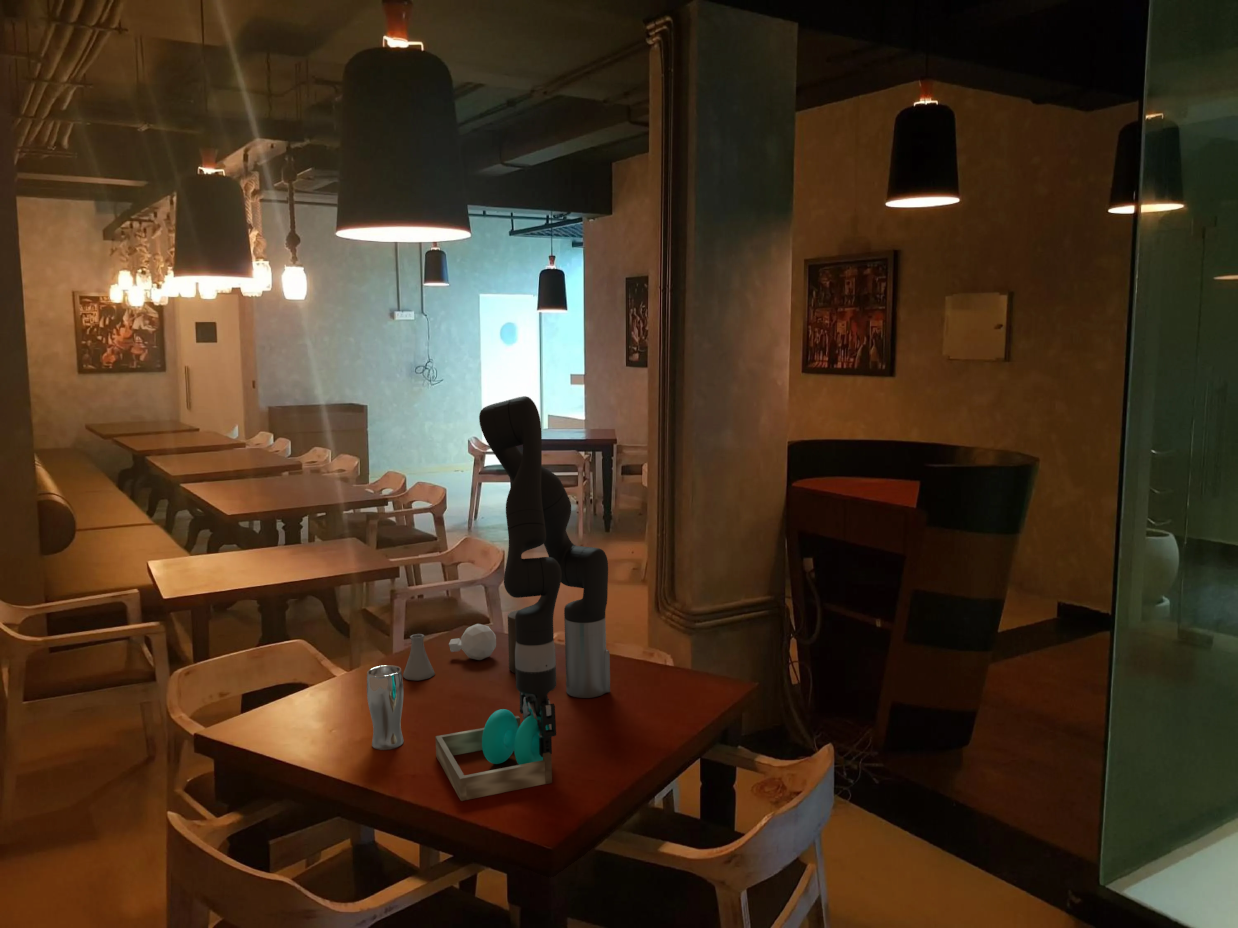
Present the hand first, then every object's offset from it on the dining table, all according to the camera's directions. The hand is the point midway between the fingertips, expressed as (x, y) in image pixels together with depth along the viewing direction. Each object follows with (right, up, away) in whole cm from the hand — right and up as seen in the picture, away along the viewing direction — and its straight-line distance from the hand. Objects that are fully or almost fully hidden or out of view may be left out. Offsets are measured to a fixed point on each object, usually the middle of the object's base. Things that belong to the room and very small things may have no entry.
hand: (538, 746), depth 177 cm
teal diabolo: (-4, -3, -1) cm, 5 cm away
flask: (-33, +2, +49) cm, 59 cm away
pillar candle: (-7, +3, +53) cm, 53 cm away
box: (-9, -3, -3) cm, 10 cm away
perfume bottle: (-21, +4, +62) cm, 65 cm away
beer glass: (-31, -2, +9) cm, 32 cm away
